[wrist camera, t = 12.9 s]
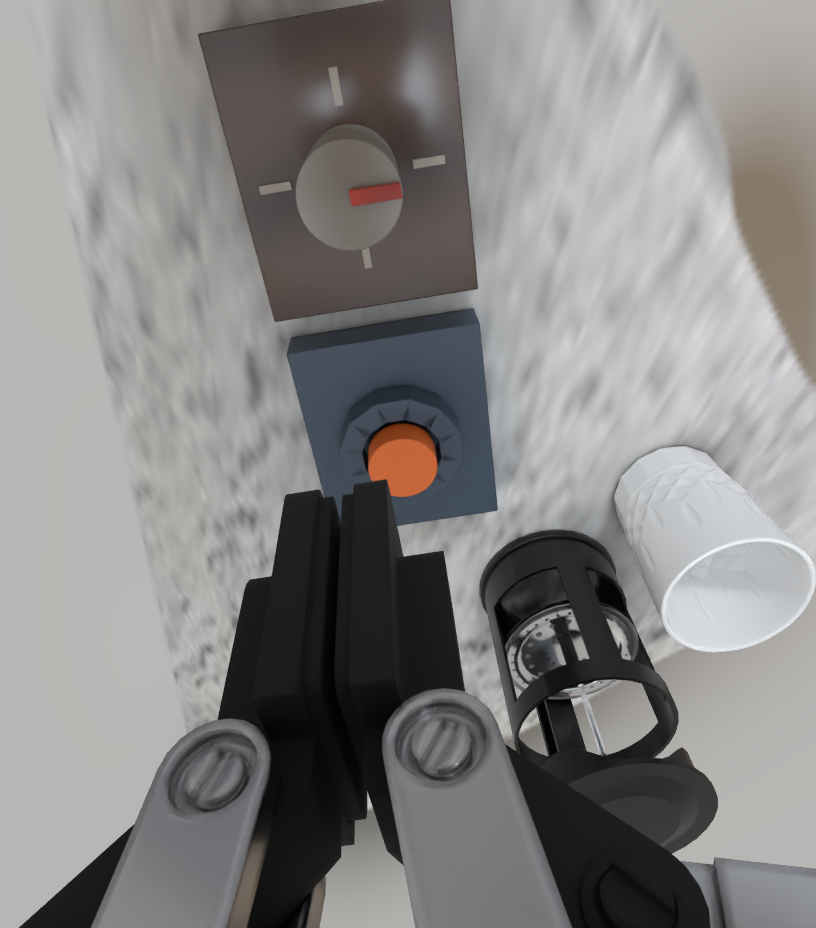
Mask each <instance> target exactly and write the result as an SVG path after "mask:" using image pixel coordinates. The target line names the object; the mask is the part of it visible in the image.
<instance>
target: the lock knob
mask: <svg viewBox="0 0 816 928" xmlns="http://www.w3.org/2000/svg"><path fill="white" fill-rule="evenodd" d="M402 201H403V193H402V185H401V180H400V176H399V172H398V168H397V163H396V160H395V157H394V154H393V152H392V150H391V148H390V147H389V145H388V144H387V142H386V141H385V140H384V139H383V138H382V137H381V136H380V135H379V134H378V133H376V132H375V131H373V130H371V129H369V128H367V127H365V126H362V125H357V124H343V125H339V126H336V127H333V128H331V129H329V130H328V131H326V132H325V133H323V134H322V135H321V136H320V137H319V138H318V139H317V140H316V142H315V143H314V144H313V146H312V148H311V150H310V152H309V154H308V156H307V158H306V160H305V161H304V163H303V165H302V167H301V169H300V172H299V175H298V178H297V183H296V202H297V207H298V210H299V213H300V216H301V218H302V220H303V222H304V224H305V225H306V227H307V228H308V230H309V231H310V232H311V233H312V234H313V235H314V236H315V237H316V238H317V239H318V240H320V241H321V242H323V243H324V244H326V245H328V246H330V247H332V248H336V249H339V250H344V251H358V250H363V249H367V248H369V247H372V246H374V245H376V244H378V243H379V242H380V241H382V240H383V239H384V238H385V237H386V236H387V235H388V234H389V233H390V232H391V231H392V229H393V228H394V226H395V225H396V223H397V221H398V218H399V216H400V212H401V208H402Z"/></svg>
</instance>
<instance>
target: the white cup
mask: <svg viewBox="0 0 816 928" xmlns="http://www.w3.org/2000/svg"><path fill="white" fill-rule="evenodd" d="M614 501H615V506H616V511H617V516H618V518H619V520H620V522H621V525H622V527H623V529H624V531H625V536H626V539H627V542H628V544H629V547H630V549H631V551H632V554H633V556H634V559H635V562H636V564H637V566H638V569H639V571H640V573H641V576H642V578H643V580H644V582H645V584H646V587H647V589H648V591H649V593H650V596H651V598H652V600H653V603H654V605H655V607H656V609H657V612H658V614H659V616H660V619H661V621H662V623H663V625H664V628H665V629H666V631H667V633H668V634H669V635H670V636H671V637H672V638H673V639H674V640H675V641H677V642H678V643H680V644H681V645H683V646H685V647H688V648H691V649H694V650H698V651H704V652H727V651H734V650H739V649H743V648H747V647H750V646H753V645H755V644H758V643H761V642H763V641H765V640H767V639H769V638H770V637H773V636H774V635H776V634H778V633H779V632H781V631H782V630H784V629H785V628H786V627H788V626H789V625H790V624H791V623H792V622H793V621H795V620H796V619H797V618H798V616H799V615H800V614H801V613H802V612H803V611H804V609H805V608H806V606H807V605H808V603H809V601H810V599H811V597H812V595H813V592H814V589H815V585H816V571H815V567H814V565H813V562H812V560H811V559H810V557H809V556H808V555H807V554H806V553H805V552H804V551H803V550H802V548H801V547H800V546H799V545H798V544H797V543H796V542H795V541H794V540H793V539H792V538H791V537H790V536H789V535H788V534H787V533H786V532H785V531H784V530H783V529H782V528H781V527H780V526H779V525H778V524H777V522H776V521H775V520H774V519H773V518H772V517H771V516H770V515H769V514H768V513H767V512H766V511H765V510H764V509H763V508H762V507H761V506H760V505H759V504H758V503H757V502H756V500H755V499H754V498H753V497H752V496H751V495H750V494H749V493H748V492H746V491H745V490H744V489H743V488H742V487H741V486H740V485H739V484H738V483H737V482H736V481H735V480H733V479H732V478H730V477H729V476H728V475H727V474H726V473H725V472H724V471H723V470H721V468H720V467H719V466H718V465H717V464H716V463H715V462H714V461H713V460H712V459H711V458H710V456H709V455H708V454H707V453H705V452H702V451H699V450H696V449H693V448H690V447H687V446H679V447H669V448H660V449H658V450H656V451H654V452H652V453H650V454H648V455H646V456H644V457H642V458H640V459H638V460H637V461H636V462H635V463H634V464H633V465H632V466H631V467H630V468H629V469H628V470H627V471H626V472H625V473H624V474H623V475H622V476H621V478H620V481H619V484H618V486H617V489H616V492H615V495H614Z"/></svg>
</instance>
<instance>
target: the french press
mask: <svg viewBox="0 0 816 928" xmlns="http://www.w3.org/2000/svg"><path fill="white" fill-rule="evenodd" d="M552 569H557V570H558V573H559V575H560V578H561V581H562V584H563V587H564V589H565V592H566V595H567V598H568V600H563V601H559V602H555V603H552V604H549V605H547V606H544V607H542V608H540V609H538V610H536V611H534V612H532V613H530V614H529V615H528V616H526V617H525V618H524V619H520V618H517V617H515V616H513V615H512V614H511V613H509V612H508V611H507V610H506V609H505V608H504V607H503V605H502V603H501V599H502V598H503V597H504V596H505V594H506V593H507V592H508V591H509V590H510V589H511V588H513V587H514V586H515V585H517V584H518V583H519V582H521V581H523V580H525V579H526V578H528V577H530V576H532V575H535V574H538V573H540V572H543V571H547V570H552ZM586 570H590V571H594V572H597V586H596V589H595V591H594V588H593V586H592V583H591V581H590V578H589V576H588V574H587V571H586ZM480 597H481V601H482V605H483V608H484V609H485V611H486V613H487V615H488V620H489V624H490V629H491V634H492V639H493V643H494V648H495V653H496V658H497V662H498V667H499V672H500V677H501V682H502V686H503V691H504V696H505V701H506V705H507V710H508V715H509V720H510V724H511V729H512V734H513V739H514V744H515V747H516V752H518V753H519V754H521V755H522V756H524V757H525V758H527V759H528V760H530V761H532V762H533V763H535V764H536V765H538V766H539V767H541V768H542V769H544V770H545V771H547V772H548V773H550V774H551V775H553V776H554V777H556V778H558V779H559V780H561V781H562V782H564V783H565V784H567V785H568V786H570V787H571V788H573V789H574V790H576V791H577V792H579V793H581V794H582V795H584V796H585V797H587V798H588V799H590V800H591V801H593V802H594V803H596V804H597V805H599V806H600V807H602V808H603V809H605V810H607V811H608V812H610V813H611V814H613V815H614V816H616V817H617V818H619V819H620V820H622V821H623V822H625V823H626V824H628V825H630V826H631V827H633V828H634V829H636V830H637V831H639V832H640V833H642V834H643V835H645V836H646V837H648V838H649V839H651V840H652V841H654V842H656V843H657V844H659V845H660V846H662V847H663V848H665V849H666V850H668V851H669V852H670V853H671V854H672V853H674V852H676V851H678V850H679V849H681V848H683V847H685V846H687V845H688V844H689V843H691V842H692V841H694V840H695V839H697V838H698V837H699V836H700V835H701V834H702V833H703V832H704V831H705V830H706V829H707V828H708V826H709V825H710V823H711V822H712V821H713V819H714V817H715V814H716V811H717V808H718V797H717V795H716V792H715V789H714V787H713V785H712V783H711V781H709V779H708V778H707V777H706V776H705V775H704V774H703V773H702V772H700V771H699V770H697V769H696V768H694V766H693V764H692V761H691V759H690V757H689V755H688V752H687V751H686V750H685V749H683V748H680V749H678V750H677V751H675V752H674V753H673V754H671V755H670V756H669V757H666V758H663V759H659V758H655V757H656V756H657V755H658V754H659V753H661V752H662V751H663V750H664V749H665V747H666V746H667V745H668V744H669V743H670V741H671V740H672V738H673V736H674V734H675V733H676V729H677V725H678V710H677V708H676V705H675V703H674V700H673V698H672V696H671V694H670V692H669V690H668V688H667V685H666V683H665V682H664V681H663V679H662V678H661V677H660V676H659V674H657V673H656V672H655V670H654V667H653V665H652V663H651V661H650V659H649V656H648V654H647V652H646V650H645V648H644V646H643V643H642V641H641V639H640V637H639V635H638V632H637V630H636V628H635V626H634V624H633V621H632V619H631V617H630V615H629V613H628V610H627V607H626V598H625V596H624V593H623V590H622V588H621V586H620V584H619V582H618V580H617V577H616V571H615V566H614V564H613V561H612V559H611V556H610V555H609V554H608V552H607V551H606V550H605V548H604V547H603V546H601V545H600V544H599V543H598V542H596V541H595V540H593V539H591V538H589V537H587V536H585V535H583V534H579V533H576V532H572V531H562V530H554V531H543V532H539V533H534V534H530V535H528V536H525V537H522V538H520V539H517V540H516V541H514V542H512V543H510V544H509V545H507V546H506V547H504V548H503V549H502V550H501V551H499V552H498V553H497V554H496V555H495V556H494V557H493V559H492V560H491V561H490V562H489V563H488V565H487V567H486V569H485V571H484V572H483V576H482V579H481V583H480ZM616 680H629V681H634V682H638V683H642V685H643V687H644V689H645V691H646V694H647V696H648V699H649V701H650V703H651V705H652V708H653V710H654V713H655V715H656V717H657V720H658V723H657V724H656V726H655V727H654V728H653V729H652V730H651V731H650V732H649V733H648V734H647V735H646V736H644V737H643V738H642V739H641V740H639V741H638V742H636V743H634V744H633V745H631V746H629V747H627V748H625V749H623V750H620V751H618V752H616V753H613V754H609V755H607V754H606V751H605V748H604V745H603V742H602V739H601V736H600V733H599V730H598V727H597V724H596V721H595V718H594V715H593V712H592V709H591V706H590V703H589V700H588V697H587V695H588V694H591V693H595V692H597V691H599V690H601V689H603V688H605V687H607V686H609V685H610V684H612V683H613V682H615V681H616ZM514 686H515V687H517V688H518V689H520V690H521V691H523V692H522V693H521V694H520V696H519V697H518V699H517V697H516V693H515V689H514ZM577 697H581V698H582V701H583V704H584V707H585V710H586V713H587V716H588V719H589V722H590V725H591V729H592V732H593V735H594V738H595V741H596V744H597V747H598V750H599V753H600V755H597V754H594V753H591V752H587V751H586V748H585V744H584V741H583V738H582V735H581V731H580V728H579V725H578V722H577V718H576V715H575V712H574V709H573V705H572V702H571V699H572V698H577ZM535 708H536V709H537V713H538V717H539V721H540V725H541V729H542V733H543V737H544V740H545V745H546V749H547V752H548V756H545V755H542V754H539V753H537V752H535V751H534V750H532V749H530V748H529V747H527V746H526V745H525V744H524V743H523V742H522V741H521V740H520V738H519V737H518V735H519V731H520V728H521V726H522V723H523V722H524V720H525V719H526V718H527V716H528V715H529V713H530V712H531V711H532V710H533V709H535Z"/></svg>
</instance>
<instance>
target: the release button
mask: <svg viewBox="0 0 816 928" xmlns="http://www.w3.org/2000/svg"><path fill="white" fill-rule="evenodd" d="M437 468H438V465H437V458H436V452H435V446H434V443H433V440H432V438H431V437H430V436H429V434H428V433H427V432H426V431H424V430H423V429H422V428H420V427H418V426H415V425H412V424H407V423H397V424H392V425H389V426H387V427H385V428H383V429H382V430H380V431H379V432H378V433H377V434H376V435H375V436H374V437H373V439H372V440H371V442H370V445H369V450H368V471H369V476H370V478H371V480H372V481H378V480H384V479H387V481H388V485H389V489H390V494H391V496H396V497H408V496H413V495H416V494H418V493H420V492H422V491H424V490H425V489H426V488H428V487H429V486H430V485H431V483H432V482H433V480H434V479H435V477H436V474H437Z"/></svg>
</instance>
